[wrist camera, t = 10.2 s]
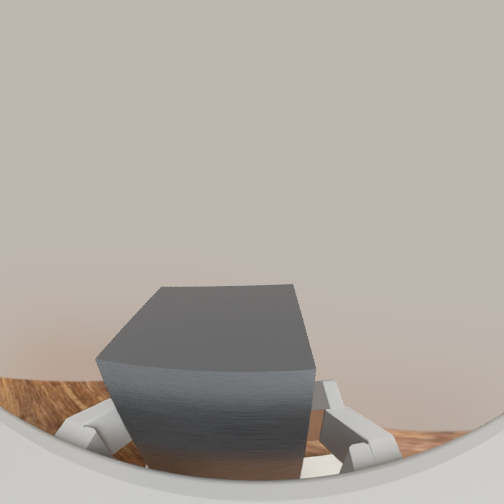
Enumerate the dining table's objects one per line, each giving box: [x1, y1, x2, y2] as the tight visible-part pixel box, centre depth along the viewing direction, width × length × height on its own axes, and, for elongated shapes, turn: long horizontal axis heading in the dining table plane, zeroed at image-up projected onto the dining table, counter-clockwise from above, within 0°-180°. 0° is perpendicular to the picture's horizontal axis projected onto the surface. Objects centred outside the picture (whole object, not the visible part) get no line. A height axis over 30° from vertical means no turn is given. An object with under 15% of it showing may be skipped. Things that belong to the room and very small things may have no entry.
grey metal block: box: [96, 284, 316, 480], centre depth 9 cm, size 5×5×10 cm
